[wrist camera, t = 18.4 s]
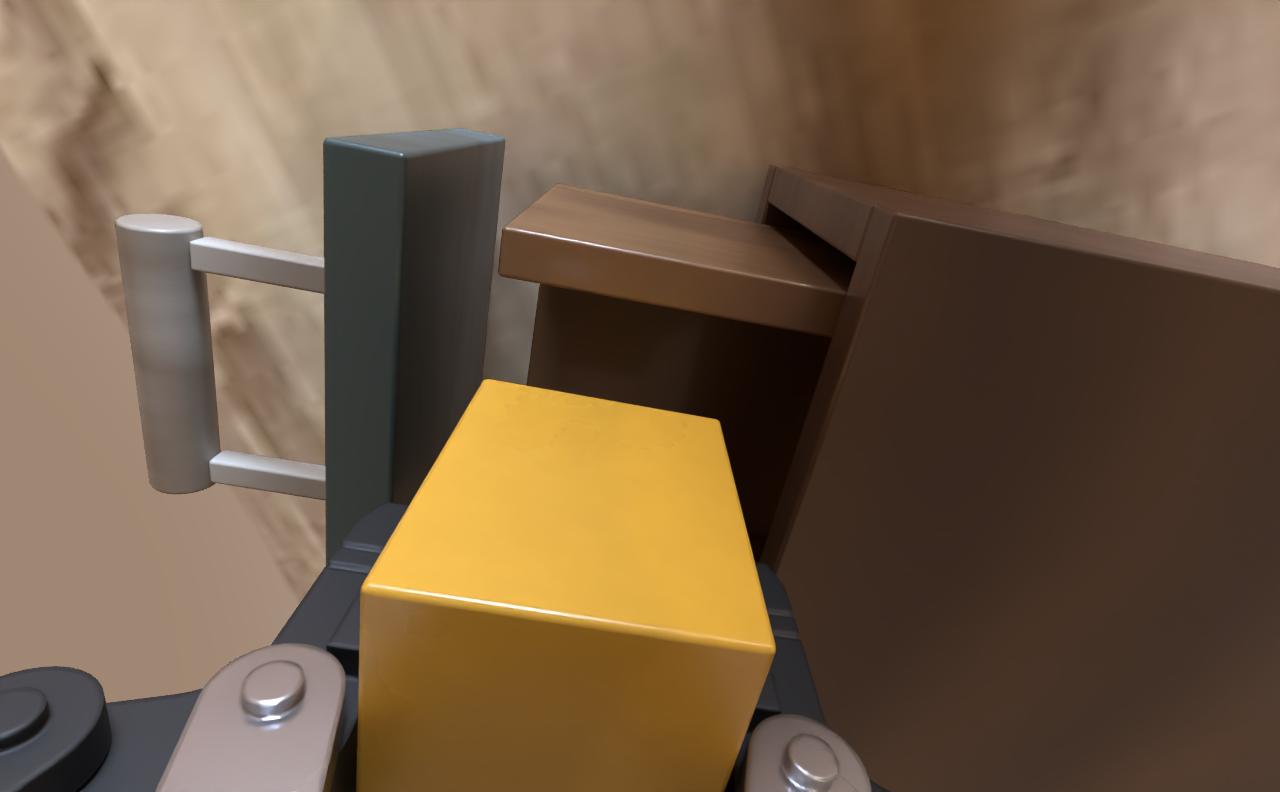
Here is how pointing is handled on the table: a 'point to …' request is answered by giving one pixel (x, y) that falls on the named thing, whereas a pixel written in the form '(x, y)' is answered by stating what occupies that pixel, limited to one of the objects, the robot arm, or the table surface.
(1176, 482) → the cabinet
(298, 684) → the robot arm
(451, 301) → the drawer
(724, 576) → the yellow cube
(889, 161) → the table surface
